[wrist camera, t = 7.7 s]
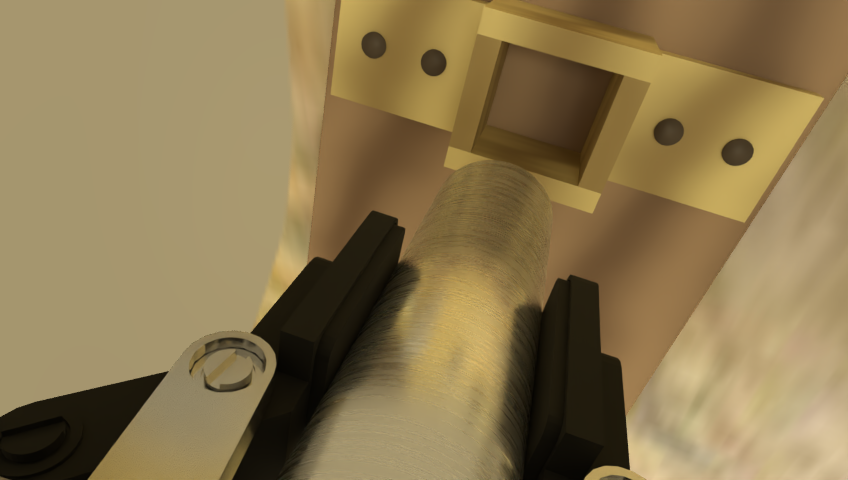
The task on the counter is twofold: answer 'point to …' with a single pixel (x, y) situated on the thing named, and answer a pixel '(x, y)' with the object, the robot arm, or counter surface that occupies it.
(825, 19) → the hinge board
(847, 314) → the counter surface
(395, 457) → the hinge pin
